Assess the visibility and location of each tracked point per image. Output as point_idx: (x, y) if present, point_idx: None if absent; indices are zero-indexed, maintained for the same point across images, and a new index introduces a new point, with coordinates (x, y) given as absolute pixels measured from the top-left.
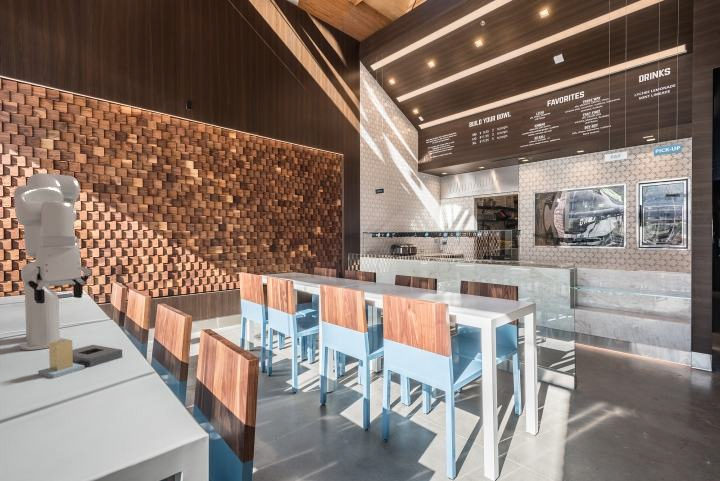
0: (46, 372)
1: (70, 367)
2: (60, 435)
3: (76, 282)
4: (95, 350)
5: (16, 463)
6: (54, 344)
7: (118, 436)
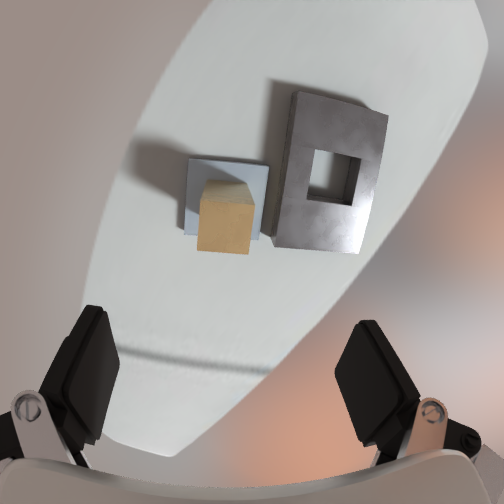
0: (186, 199)
1: None
2: None
3: (402, 436)
4: (357, 160)
5: None
6: (198, 234)
7: (137, 431)
